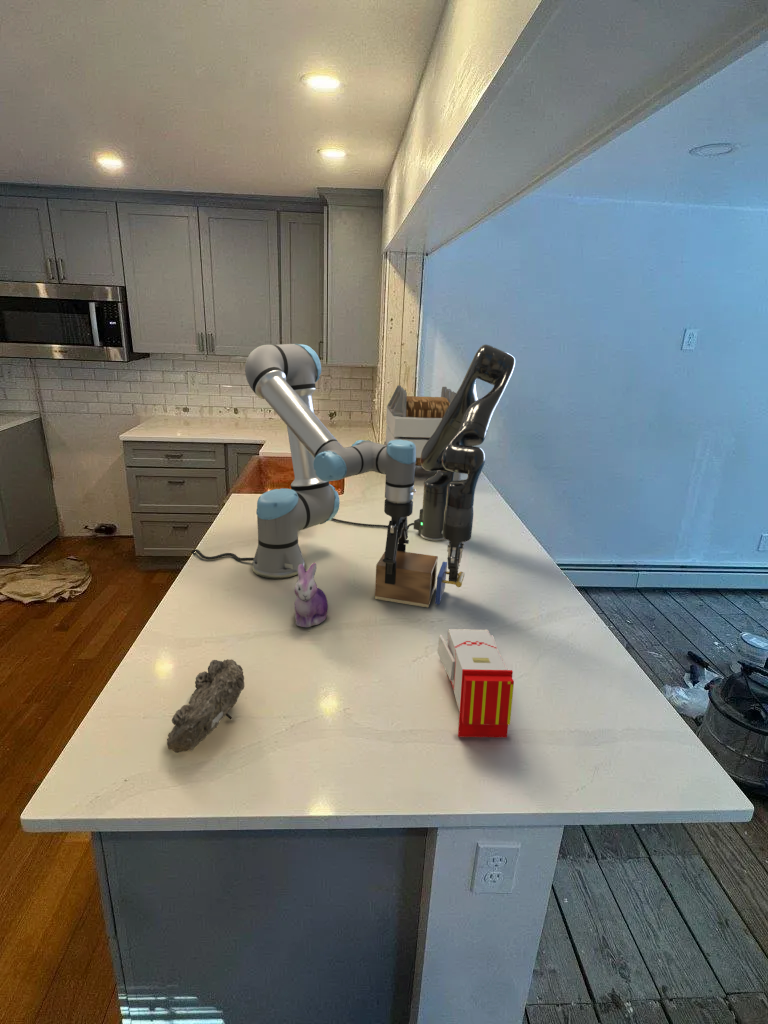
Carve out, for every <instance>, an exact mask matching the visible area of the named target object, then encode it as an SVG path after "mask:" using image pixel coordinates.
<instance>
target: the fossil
mask: <svg viewBox="0 0 768 1024" xmlns="http://www.w3.org/2000/svg"><path fill="white" fill-rule="evenodd" d="M243 670H244V669H243V667H242V665H240V664H237V662H236V661H235V660H234V659H232V658H231V659H227V658H226V659H224V660H223V661H222V660H217V659H212V660H211V661H210V663H209V665H208V666H207V671H201V672H199V673H198V674H197V675H196V676H195V680H194V684H195V685H194V687H195V689H194V690H193V693H192V694H191V697H190V698H189V700H188V704H184V705H182V706H181V707H180V709H177V710H176V711H175V713H174V715H173V716H172V718H171V723H172V724H173V727H172V730H171V731H170V732H168V734H167V738H166V741H167V742H166V745H167V749H168V750H169V751H173V752H174V753H176V754H178V753H182V752H188V751H189V752H192V751H193V750H195V748H196V747H197V746H199V744H200V743H201V742H203V741H204V740H205V739H206V738H207V737H208V736H209V735H210V734H211V733H212V732H214V730H215V729H217V727H218V726H219V724H220V722H221V721H222V720H223V719H224V718H225V716H226V717H227V719H229V720H233V717H232V715H230V714H229V710H230V709H231V708H234V706H235V704H236V703H237V702H238V699H239V697H240V695H241V693H242V691H243V690H245V689H244V688H245V675H244V671H243Z"/></svg>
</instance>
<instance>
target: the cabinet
mask: <svg viewBox="0 0 768 1024" xmlns="http://www.w3.org/2000/svg"><path fill="white" fill-rule="evenodd" d="M384 556H385V551H384V552H383V553H382V556H381V557H380V558H379V560H378V562H377V563H376V565H375V584H374V585H375V586H374V600H380V601H386V602H392V603H399V604H403V605H410V606H417V607H423V608H429V607H430V604H431V601H432V599H433V596H434V593H435V592H436V586H435V587H434V590H433V593H432V595H431V598H430V587H431V575H432V573H433V570H434V568H435V565H436V563H437V565H436V573H437V571H438V559H439V556H438V555H432V554H423V553H417V552H416V553H415V552H409V551H405V552H403V551H397V554H396V577H395V585H392V584H386V583H385V566H386V563H384V562H383V559H384ZM435 585H437V576H436V577H435Z"/></svg>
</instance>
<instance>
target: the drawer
mask: <svg viewBox="0 0 768 1024" xmlns="http://www.w3.org/2000/svg"><path fill="white" fill-rule="evenodd" d="M436 565H437V566H438V562H437V563H436ZM436 565H435V568H434V570H433V573H432V575H431V587H430V598H431V595H432V593H433V590H434V587H435V599H434V604H435V605H440V603H441V601H442V598H443V595H444V592H445V588H446V584H449V585H455V586H456V587H457V588H461V587H462V586H463V581H464V577H465V572H463V571H458V577H457V581H456V582H453V581H449V580H447V575H449V570H448V561H442V563H441V565H440V568H439V571H438V573H437V572H436ZM447 570H448V571H447ZM435 577H436V584H435ZM433 594H434V593H433Z"/></svg>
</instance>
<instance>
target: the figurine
mask: <svg viewBox="0 0 768 1024" xmlns="http://www.w3.org/2000/svg"><path fill="white" fill-rule="evenodd" d="M316 573H317V563H316V562H313V563H311V565H310V566H309V567H308V569H307V570H306V567H305V565H304V566H303V564H299V566H298V574H297V578H298V579H297V581H296V583H295V586H294V589H293V590H294V594H295V596H296V598H295V601H294V612H295V615H294V619H295V626H297V627H302V628H311V627H312V626H313V627H314V626H318V625H320V624H322V623H323V622H324V621H325V620H326V619H327V616H328V610H329V604H328V598H327V595H326V594H325V592H324V591H323V590H322V589H321V588H319V587H318V586H317V583H316V581H315V575H316Z"/></svg>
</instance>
